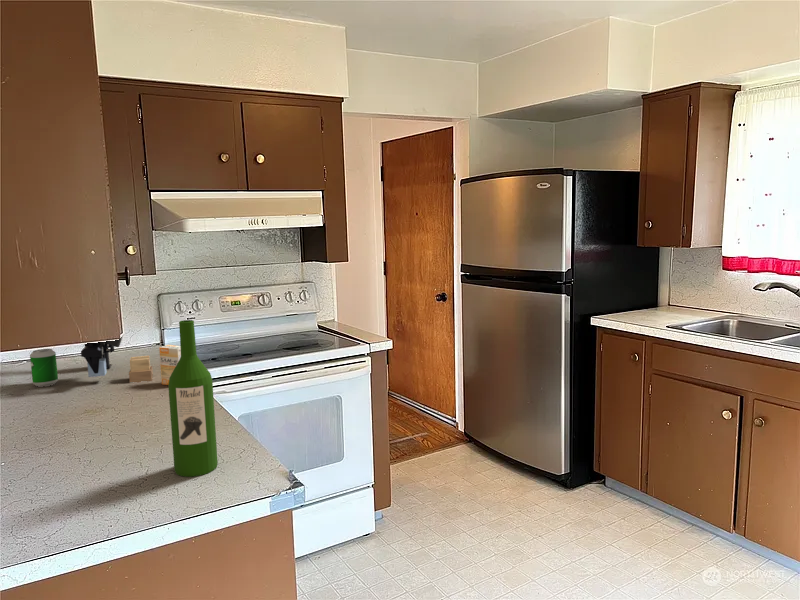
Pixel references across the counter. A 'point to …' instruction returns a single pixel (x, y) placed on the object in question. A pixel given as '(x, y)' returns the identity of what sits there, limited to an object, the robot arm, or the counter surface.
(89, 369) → the blue cube
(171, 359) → the supplement box
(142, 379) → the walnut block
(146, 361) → the oak block
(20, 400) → the counter surface
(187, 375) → the wine bottle
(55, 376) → the soda can
